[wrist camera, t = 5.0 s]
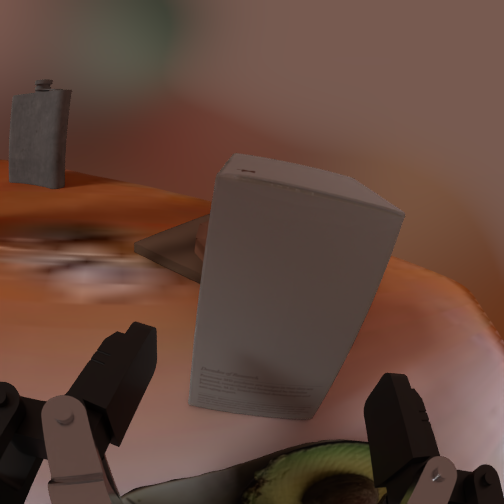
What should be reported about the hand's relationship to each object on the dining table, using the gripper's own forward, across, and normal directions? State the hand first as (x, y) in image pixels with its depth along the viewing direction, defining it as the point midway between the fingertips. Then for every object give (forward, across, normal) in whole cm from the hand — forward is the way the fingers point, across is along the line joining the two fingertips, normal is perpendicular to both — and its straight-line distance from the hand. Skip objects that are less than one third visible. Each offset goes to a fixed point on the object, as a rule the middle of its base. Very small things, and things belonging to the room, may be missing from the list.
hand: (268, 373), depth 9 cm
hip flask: (+35, +45, +7) cm, 58 cm away
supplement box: (+6, 0, +7) cm, 10 cm away
